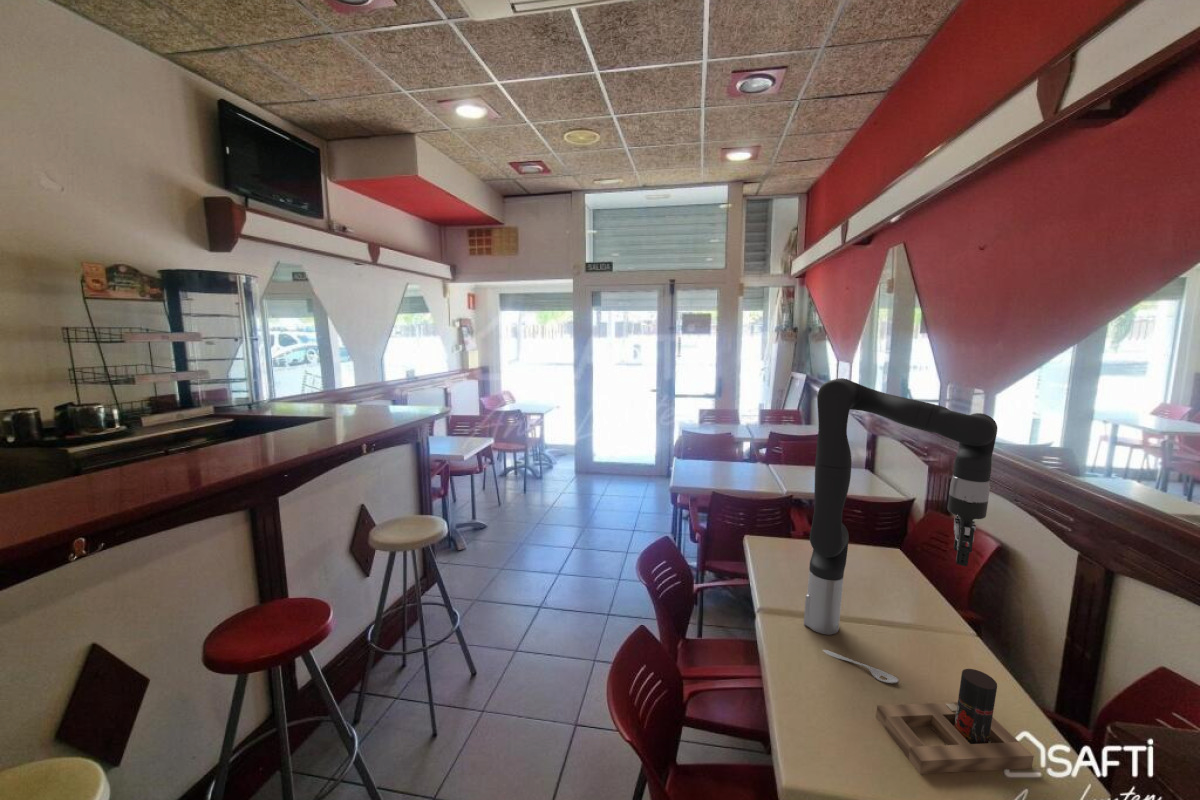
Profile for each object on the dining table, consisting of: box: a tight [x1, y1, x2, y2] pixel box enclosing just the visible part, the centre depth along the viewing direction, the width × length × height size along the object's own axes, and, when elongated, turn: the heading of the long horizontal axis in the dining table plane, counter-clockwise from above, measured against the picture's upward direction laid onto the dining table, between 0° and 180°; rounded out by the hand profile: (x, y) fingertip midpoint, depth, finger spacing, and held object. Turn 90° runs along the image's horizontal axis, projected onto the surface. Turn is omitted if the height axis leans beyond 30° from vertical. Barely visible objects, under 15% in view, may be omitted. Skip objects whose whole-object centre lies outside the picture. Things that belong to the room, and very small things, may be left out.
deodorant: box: [954, 668, 998, 744], centre depth 102 cm, size 6×6×15 cm
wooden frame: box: [875, 701, 1035, 775], centre depth 102 cm, size 24×14×3 cm, turn 93°
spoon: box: [822, 649, 900, 684], centre depth 126 cm, size 4×21×2 cm, turn 45°
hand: (960, 557), depth 116 cm, fingers open, 8 cm apart
